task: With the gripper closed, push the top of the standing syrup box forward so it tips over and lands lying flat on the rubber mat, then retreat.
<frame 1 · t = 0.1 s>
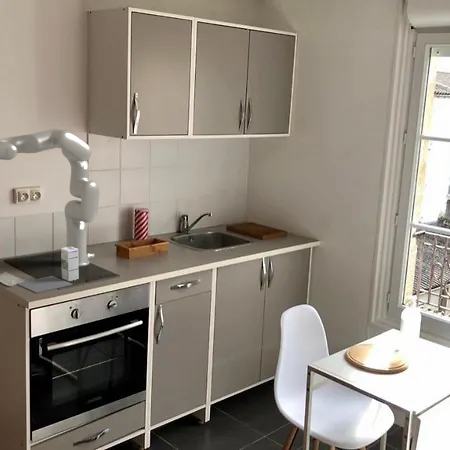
syrup box: (69, 279, 282), on the table
mat: (44, 284, 273), on the table
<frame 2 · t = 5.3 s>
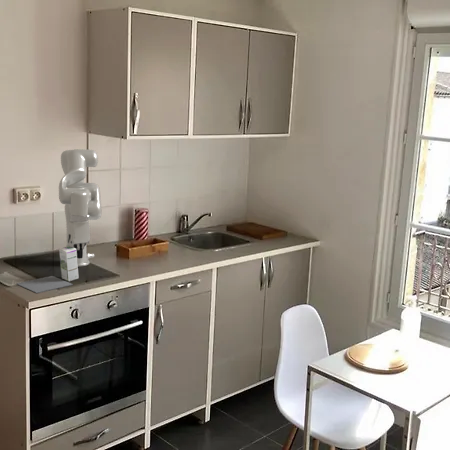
hand: (79, 257, 283), 9 cm above the table, fingers closed
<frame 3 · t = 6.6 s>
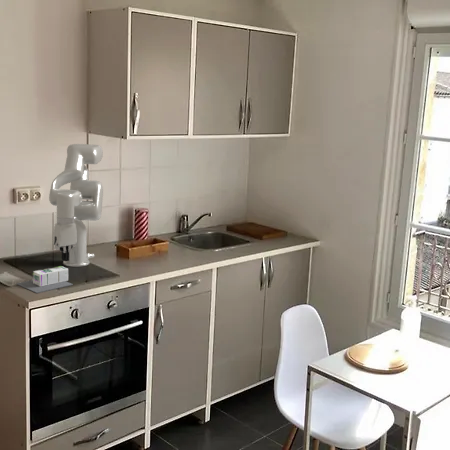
hand: (65, 260, 278), 9 cm above the table, fingers closed
syrup box: (65, 273, 280), point 3 cm above the table, touching mat
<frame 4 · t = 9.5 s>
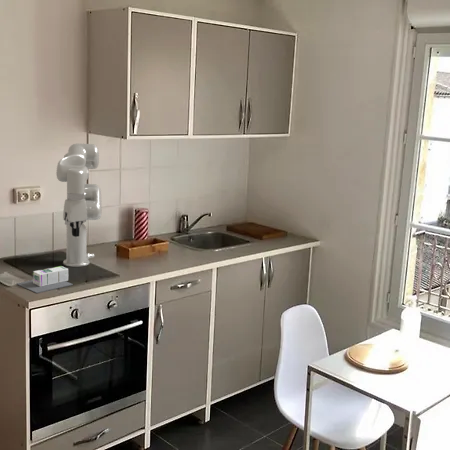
hand: (75, 235, 281), 20 cm above the table, fingers closed
nothing on the table moved.
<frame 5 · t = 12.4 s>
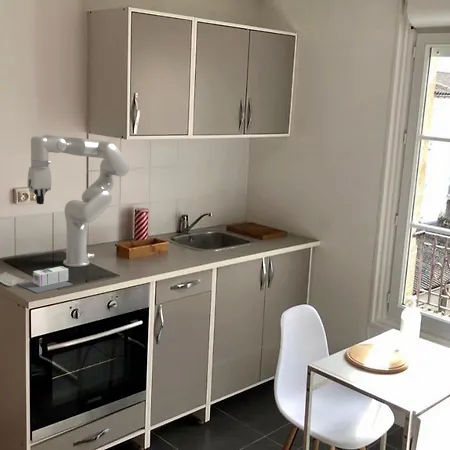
hand: (40, 203, 285), 32 cm above the table, fingers closed
nothing on the table moved.
at the end: syrup box tilted 89°; syrup box inside the target area (6.0 cm from its centre), point 3.1 cm above the table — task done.
